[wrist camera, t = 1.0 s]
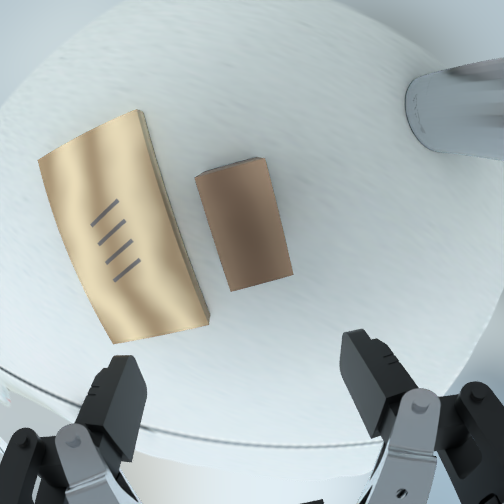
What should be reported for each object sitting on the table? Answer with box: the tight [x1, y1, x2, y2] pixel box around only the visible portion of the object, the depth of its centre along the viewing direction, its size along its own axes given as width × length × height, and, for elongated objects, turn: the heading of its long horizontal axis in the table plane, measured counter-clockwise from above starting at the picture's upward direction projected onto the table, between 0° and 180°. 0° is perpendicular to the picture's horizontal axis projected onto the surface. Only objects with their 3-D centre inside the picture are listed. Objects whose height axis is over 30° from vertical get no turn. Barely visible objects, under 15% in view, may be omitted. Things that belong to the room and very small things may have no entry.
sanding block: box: [195, 157, 293, 292], centre depth 24 cm, size 5×9×7 cm, turn 15°
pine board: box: [38, 109, 210, 344], centre depth 26 cm, size 12×22×2 cm, turn 15°
